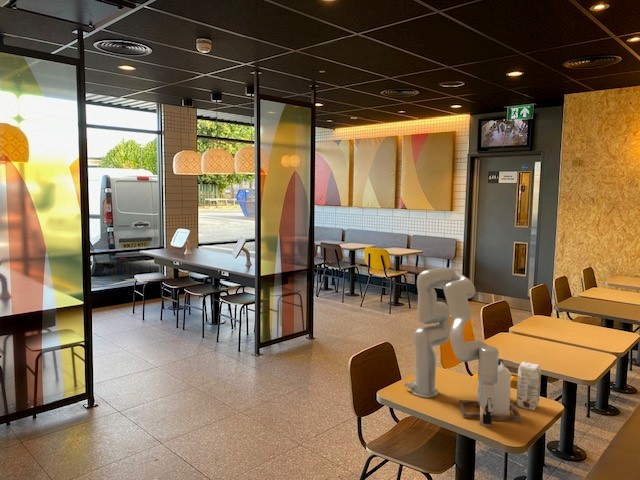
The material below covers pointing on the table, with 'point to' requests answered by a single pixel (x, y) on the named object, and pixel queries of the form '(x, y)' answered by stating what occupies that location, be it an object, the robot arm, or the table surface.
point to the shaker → (482, 417)
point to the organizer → (494, 416)
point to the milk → (502, 391)
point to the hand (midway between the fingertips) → (485, 420)
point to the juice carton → (528, 385)
